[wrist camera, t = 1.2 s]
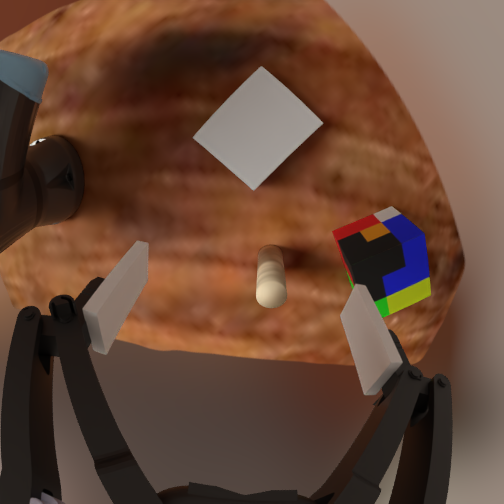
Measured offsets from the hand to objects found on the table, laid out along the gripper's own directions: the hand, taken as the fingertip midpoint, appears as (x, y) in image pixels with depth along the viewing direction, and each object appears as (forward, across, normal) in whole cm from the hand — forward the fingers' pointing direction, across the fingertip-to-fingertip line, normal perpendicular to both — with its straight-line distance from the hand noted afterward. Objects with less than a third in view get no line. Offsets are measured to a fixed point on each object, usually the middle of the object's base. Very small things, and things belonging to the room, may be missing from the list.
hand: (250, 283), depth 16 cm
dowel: (+22, +4, -9) cm, 24 cm away
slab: (+22, -2, +8) cm, 24 cm away
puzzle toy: (+22, +19, -4) cm, 29 cm away
